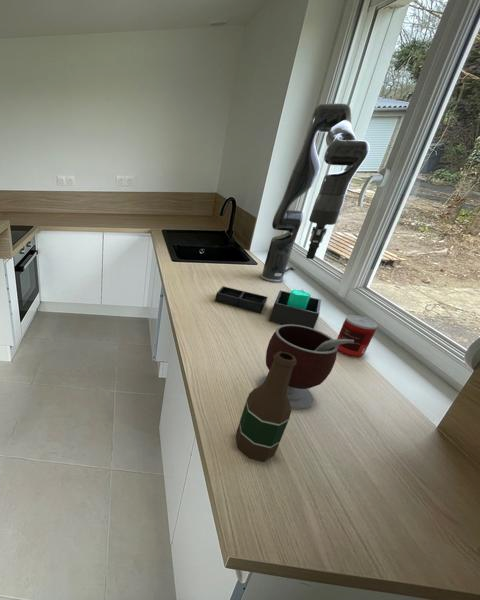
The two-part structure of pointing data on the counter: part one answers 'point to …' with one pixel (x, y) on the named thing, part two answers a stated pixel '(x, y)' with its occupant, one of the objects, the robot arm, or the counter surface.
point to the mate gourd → (304, 359)
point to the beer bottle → (266, 411)
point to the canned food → (356, 335)
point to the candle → (298, 299)
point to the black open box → (294, 311)
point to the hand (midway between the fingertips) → (310, 255)
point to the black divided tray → (241, 299)
